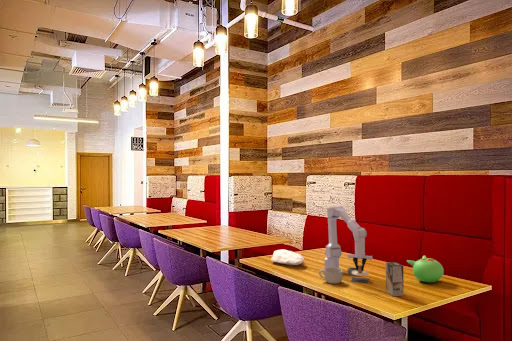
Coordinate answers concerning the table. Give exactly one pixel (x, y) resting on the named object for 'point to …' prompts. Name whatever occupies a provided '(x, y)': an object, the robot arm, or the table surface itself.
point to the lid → (360, 272)
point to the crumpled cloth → (287, 257)
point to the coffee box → (394, 279)
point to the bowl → (351, 270)
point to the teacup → (332, 275)
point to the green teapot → (427, 269)
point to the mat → (360, 280)
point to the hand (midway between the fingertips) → (359, 270)
